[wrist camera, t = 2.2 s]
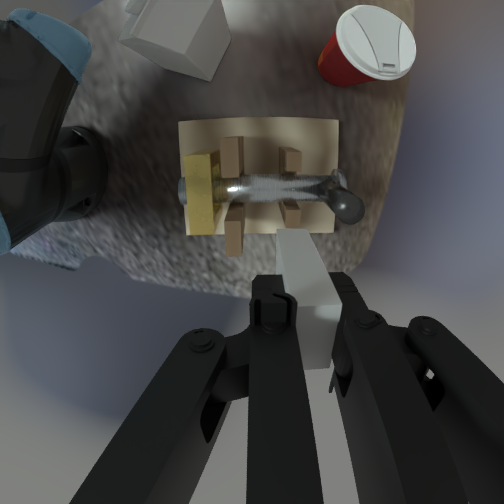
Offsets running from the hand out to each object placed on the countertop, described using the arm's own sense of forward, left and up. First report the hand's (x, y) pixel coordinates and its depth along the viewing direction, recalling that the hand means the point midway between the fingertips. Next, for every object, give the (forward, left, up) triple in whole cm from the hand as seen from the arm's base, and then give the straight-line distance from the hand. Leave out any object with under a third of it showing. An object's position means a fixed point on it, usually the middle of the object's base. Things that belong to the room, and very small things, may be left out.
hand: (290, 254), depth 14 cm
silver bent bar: (-1, 0, -19) cm, 19 cm away
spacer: (-7, 0, -18) cm, 19 cm away
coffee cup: (+10, +16, -26) cm, 32 cm away
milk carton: (-9, +18, -26) cm, 33 cm away
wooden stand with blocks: (-1, 0, -26) cm, 26 cm away
